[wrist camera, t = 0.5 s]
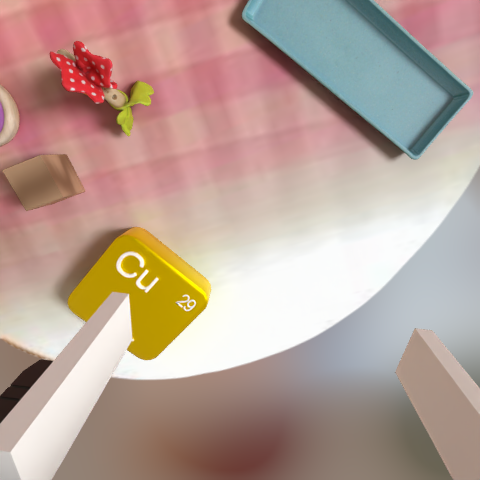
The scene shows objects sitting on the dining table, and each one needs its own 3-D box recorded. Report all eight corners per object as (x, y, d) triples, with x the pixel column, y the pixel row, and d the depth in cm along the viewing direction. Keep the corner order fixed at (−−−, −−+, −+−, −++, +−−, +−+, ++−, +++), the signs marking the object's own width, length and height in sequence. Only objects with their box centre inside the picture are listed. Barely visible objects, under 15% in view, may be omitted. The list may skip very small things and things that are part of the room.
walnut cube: (33, 167, 36) (2, 170, 32) (66, 154, 36) (40, 155, 31) (53, 203, 38) (26, 211, 33) (86, 191, 37) (62, 197, 32)
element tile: (78, 290, 42) (58, 307, 38) (136, 220, 39) (121, 229, 34) (156, 346, 45) (147, 368, 41) (217, 285, 42) (214, 302, 37)
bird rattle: (98, 112, 36) (147, 147, 34) (-1, 70, 26) (60, 116, 23) (118, 65, 34) (170, 99, 32) (21, 0, 24) (88, 42, 22)
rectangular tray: (239, 24, 32) (238, 14, 29) (289, -61, 29) (293, -80, 27) (404, 161, 36) (416, 162, 34) (459, 97, 34) (476, 93, 31)
